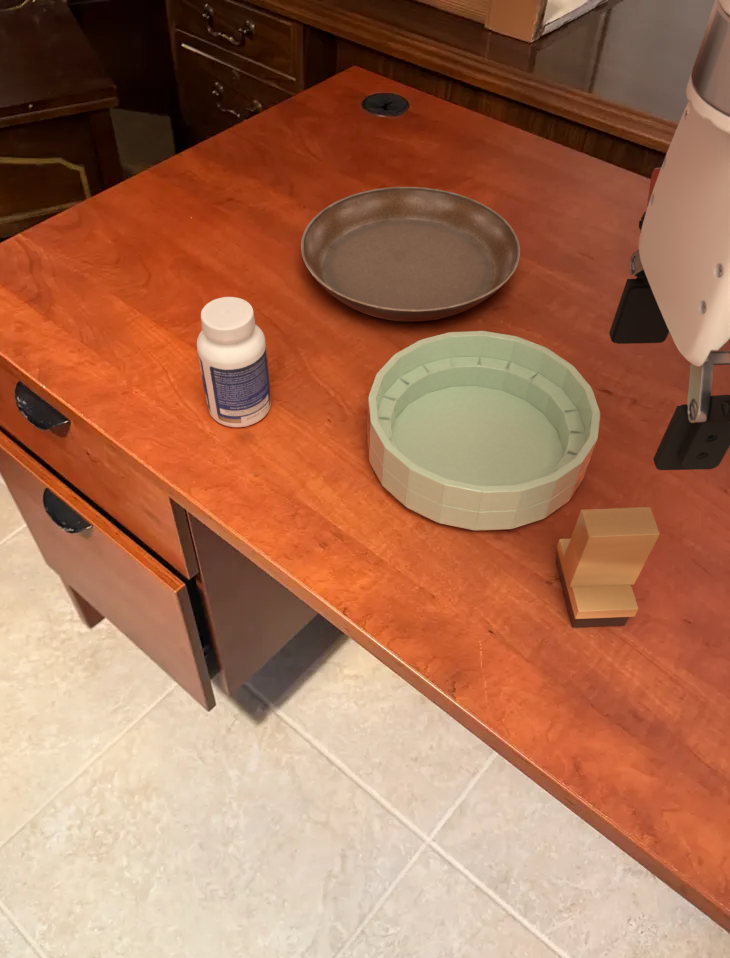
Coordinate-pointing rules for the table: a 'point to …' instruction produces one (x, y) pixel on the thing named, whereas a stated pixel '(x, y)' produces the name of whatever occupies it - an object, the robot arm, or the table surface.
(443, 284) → the plant saucer
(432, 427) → the bowl
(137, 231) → the table surface
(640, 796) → the table surface
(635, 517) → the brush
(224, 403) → the pill bottle
